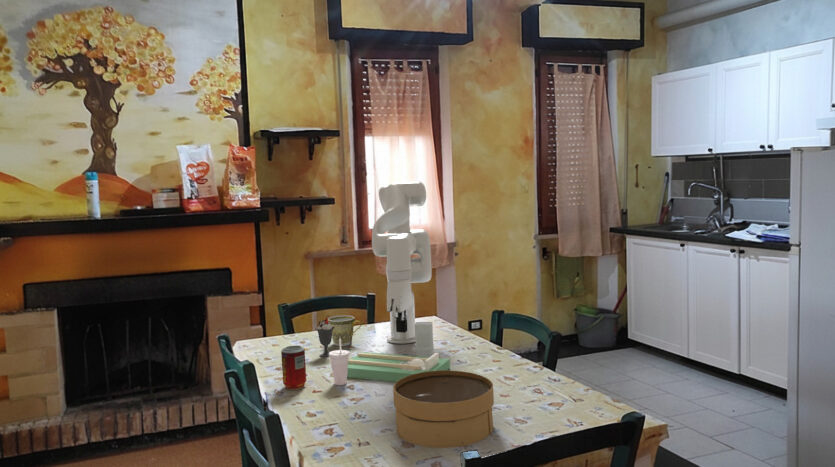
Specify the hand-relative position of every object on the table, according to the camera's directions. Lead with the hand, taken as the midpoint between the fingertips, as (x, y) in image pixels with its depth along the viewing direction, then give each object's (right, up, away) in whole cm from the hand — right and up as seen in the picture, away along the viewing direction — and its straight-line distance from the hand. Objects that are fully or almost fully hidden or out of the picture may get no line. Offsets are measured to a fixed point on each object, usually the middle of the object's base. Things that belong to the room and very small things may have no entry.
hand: (401, 331), depth 205 cm
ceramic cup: (-22, -11, +40) cm, 47 cm away
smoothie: (-19, -15, -7) cm, 25 cm away
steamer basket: (+12, -17, -45) cm, 50 cm away
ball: (+5, -11, -2) cm, 12 cm away
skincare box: (+8, -12, +18) cm, 23 cm away
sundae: (-28, -13, +25) cm, 39 cm away
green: (-3, -13, +2) cm, 14 cm away
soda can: (-33, -16, -9) cm, 37 cm away
